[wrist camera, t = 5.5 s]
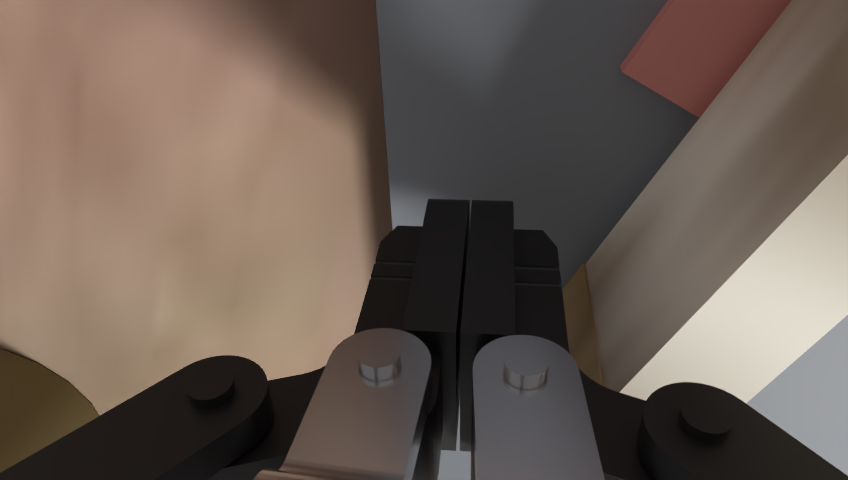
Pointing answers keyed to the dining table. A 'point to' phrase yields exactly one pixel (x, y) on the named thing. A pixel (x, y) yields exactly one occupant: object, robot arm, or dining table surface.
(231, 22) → the dining table surface
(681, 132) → the grey flat slab
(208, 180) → the dining table surface
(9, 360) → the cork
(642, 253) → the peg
